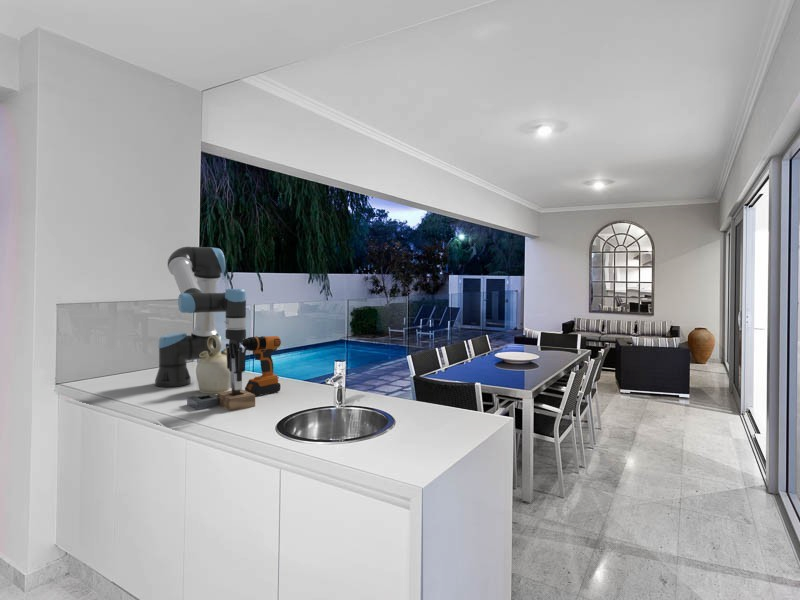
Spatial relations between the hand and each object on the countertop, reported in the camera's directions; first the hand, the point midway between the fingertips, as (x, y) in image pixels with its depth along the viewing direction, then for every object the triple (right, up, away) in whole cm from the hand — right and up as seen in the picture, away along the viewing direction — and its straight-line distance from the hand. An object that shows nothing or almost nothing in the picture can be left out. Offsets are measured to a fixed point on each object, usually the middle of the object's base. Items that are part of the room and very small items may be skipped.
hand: (236, 388), depth 190 cm
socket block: (-12, -7, 0) cm, 14 cm away
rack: (0, -7, 0) cm, 7 cm away
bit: (0, -4, 0) cm, 4 cm away
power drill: (+3, -6, +21) cm, 22 cm away
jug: (-18, -6, +25) cm, 31 cm away
